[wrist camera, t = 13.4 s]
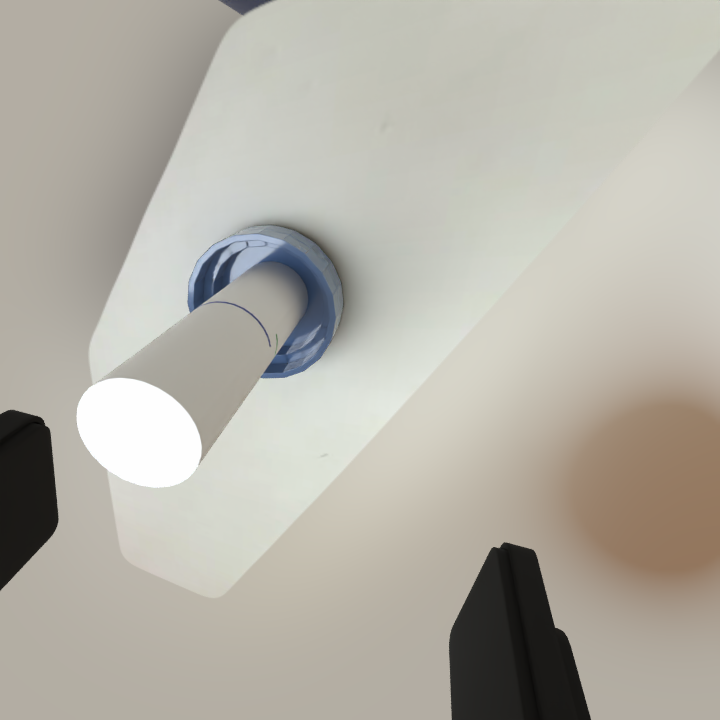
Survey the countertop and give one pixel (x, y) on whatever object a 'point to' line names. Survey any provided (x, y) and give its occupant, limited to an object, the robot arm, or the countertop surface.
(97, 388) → the cylindrical container
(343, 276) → the countertop surface
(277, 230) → the bowl
